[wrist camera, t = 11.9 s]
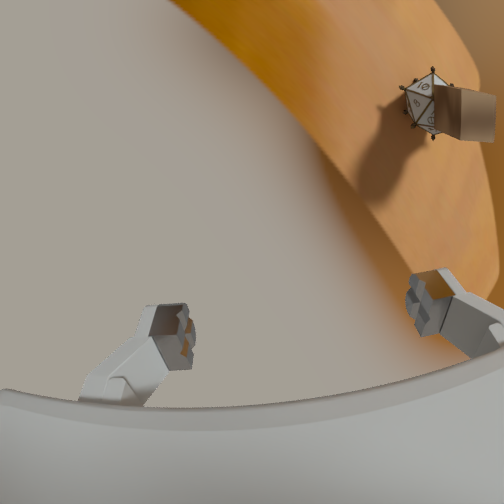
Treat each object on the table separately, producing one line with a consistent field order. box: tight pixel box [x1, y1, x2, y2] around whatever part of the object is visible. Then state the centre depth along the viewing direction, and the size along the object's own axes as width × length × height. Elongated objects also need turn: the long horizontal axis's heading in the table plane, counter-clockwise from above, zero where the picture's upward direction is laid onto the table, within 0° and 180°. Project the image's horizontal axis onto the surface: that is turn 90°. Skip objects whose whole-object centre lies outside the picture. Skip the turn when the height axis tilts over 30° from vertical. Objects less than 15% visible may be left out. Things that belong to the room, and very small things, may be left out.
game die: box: [399, 66, 454, 141], centre depth 29 cm, size 9×8×10 cm
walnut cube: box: [434, 84, 496, 143], centre depth 23 cm, size 5×5×5 cm
